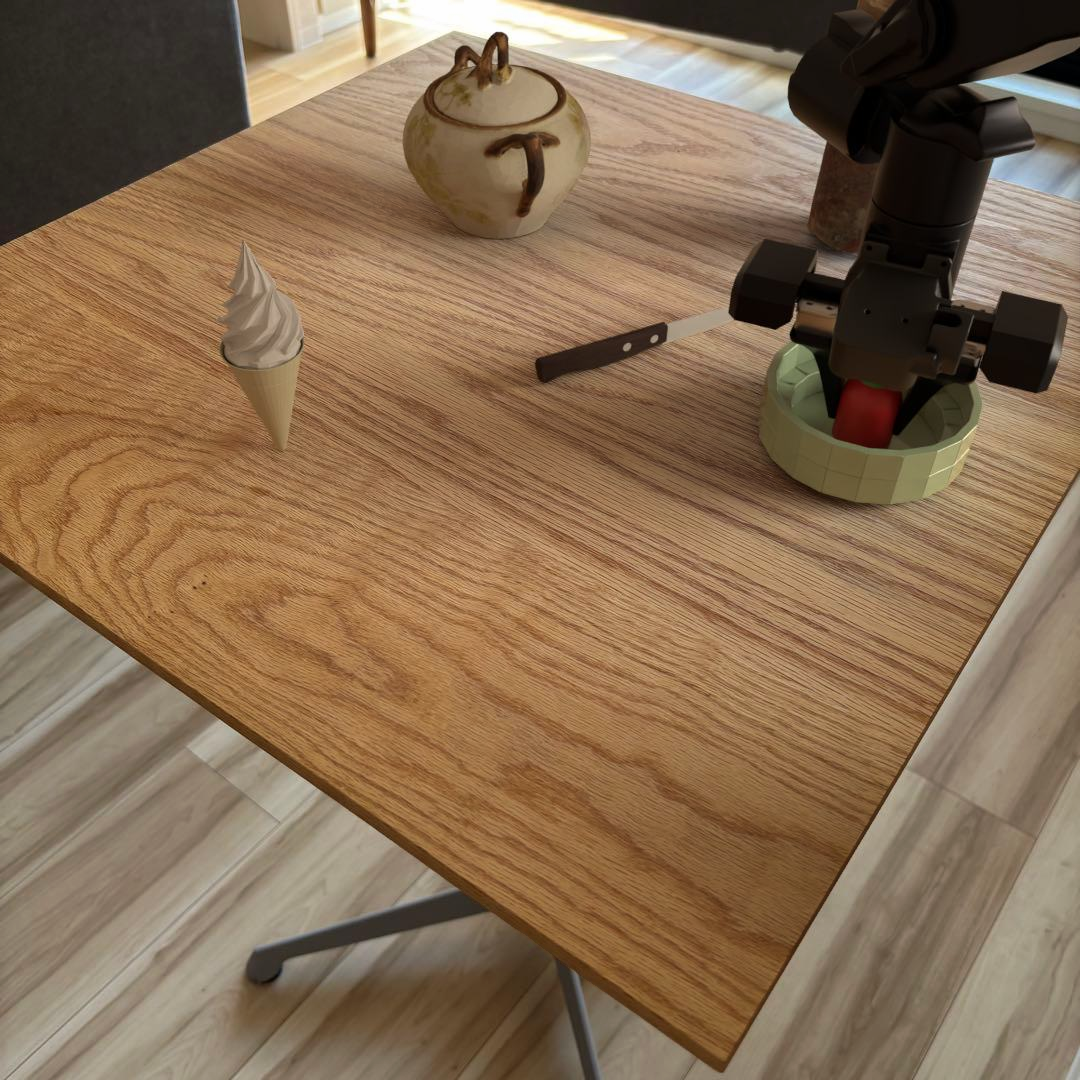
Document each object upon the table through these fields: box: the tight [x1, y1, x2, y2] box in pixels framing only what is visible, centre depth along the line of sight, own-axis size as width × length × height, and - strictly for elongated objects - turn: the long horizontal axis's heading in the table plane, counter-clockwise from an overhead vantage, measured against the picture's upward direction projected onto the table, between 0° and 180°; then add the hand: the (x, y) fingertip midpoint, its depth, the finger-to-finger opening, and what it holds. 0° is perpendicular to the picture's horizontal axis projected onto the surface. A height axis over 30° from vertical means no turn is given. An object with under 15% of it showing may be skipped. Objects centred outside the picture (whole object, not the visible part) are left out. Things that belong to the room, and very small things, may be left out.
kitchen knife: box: [534, 306, 735, 384], centre depth 81 cm, size 18×1×2 cm, turn 117°
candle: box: [806, 0, 895, 254], centre depth 85 cm, size 8×7×20 cm
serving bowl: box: [757, 340, 984, 506], centre depth 73 cm, size 13×13×4 cm
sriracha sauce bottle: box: [832, 379, 902, 449], centre depth 72 cm, size 4×4×5 cm
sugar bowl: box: [402, 31, 592, 240], centre depth 90 cm, size 20×15×15 cm
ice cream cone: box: [215, 240, 306, 452], centre depth 68 cm, size 5×5×15 cm
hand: (864, 423), depth 73 cm, fingers closed on sriracha sauce bottle, 4 cm apart
